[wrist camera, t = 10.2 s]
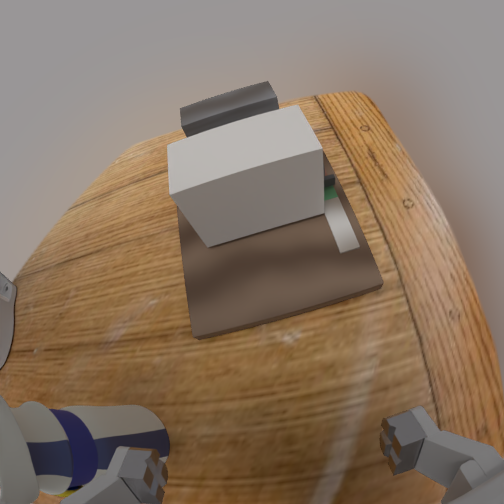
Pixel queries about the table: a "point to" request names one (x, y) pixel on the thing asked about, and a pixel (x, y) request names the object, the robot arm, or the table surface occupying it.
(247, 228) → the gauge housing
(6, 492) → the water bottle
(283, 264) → the gauge stand
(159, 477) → the robot arm
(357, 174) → the table surface
